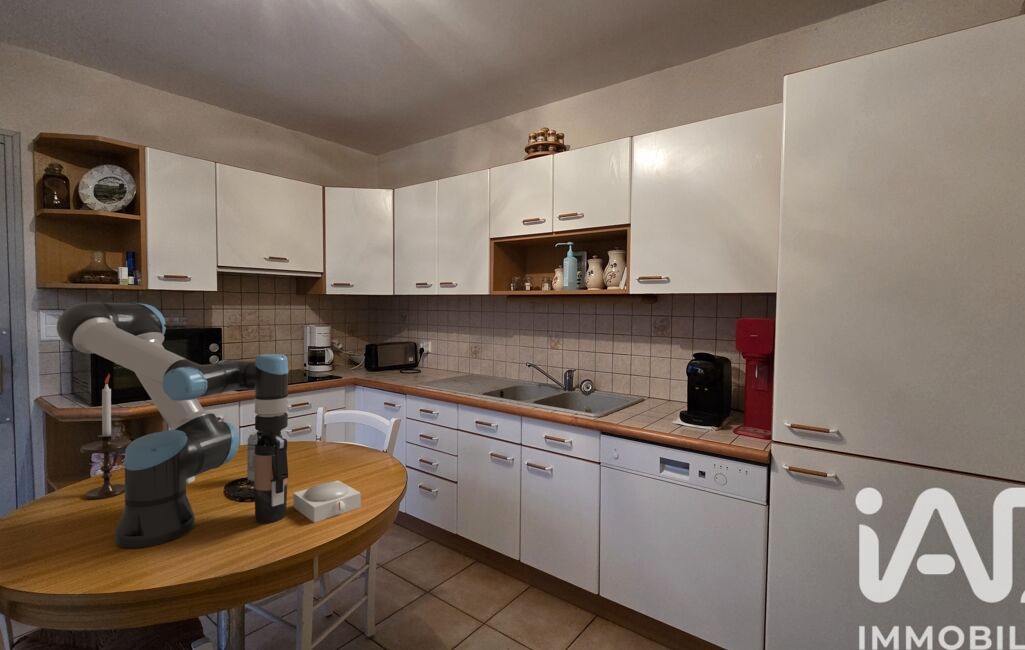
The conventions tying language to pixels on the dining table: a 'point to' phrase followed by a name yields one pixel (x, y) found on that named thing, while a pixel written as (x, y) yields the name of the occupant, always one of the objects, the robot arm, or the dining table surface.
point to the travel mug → (266, 486)
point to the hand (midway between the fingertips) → (271, 499)
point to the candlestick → (106, 451)
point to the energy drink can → (251, 456)
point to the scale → (326, 500)
